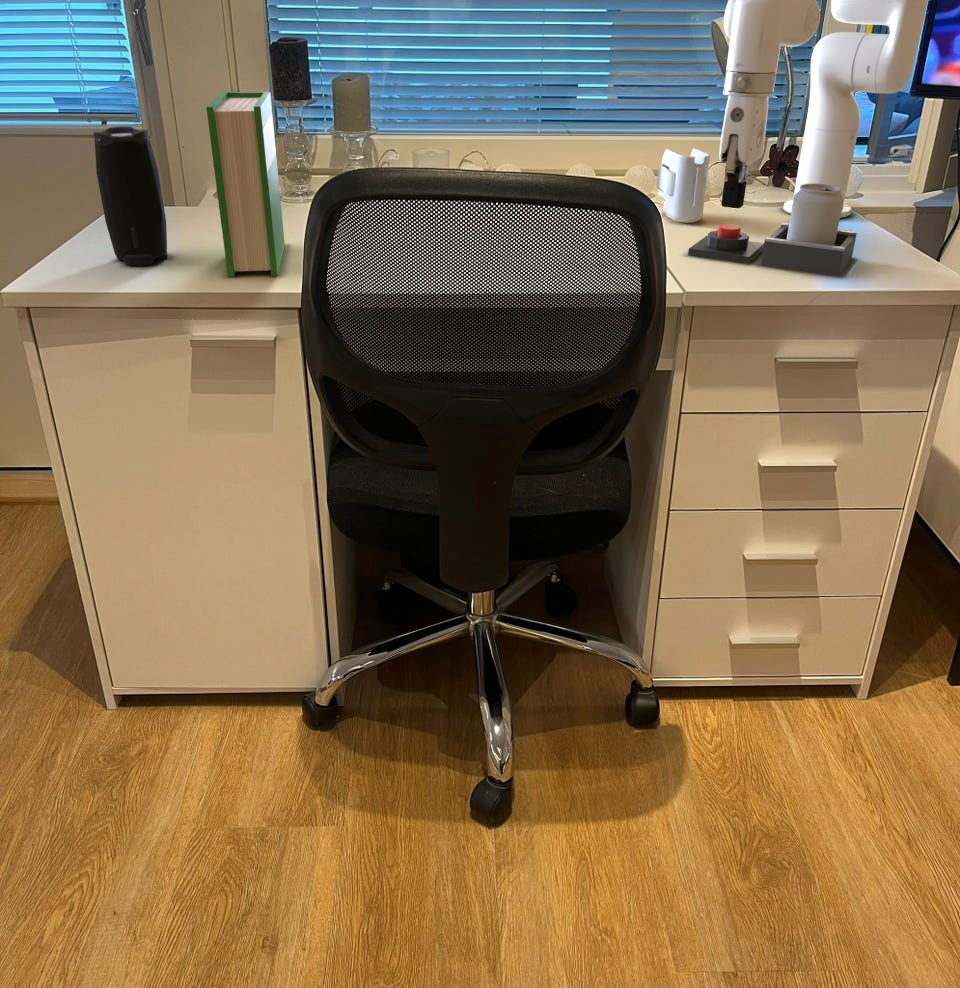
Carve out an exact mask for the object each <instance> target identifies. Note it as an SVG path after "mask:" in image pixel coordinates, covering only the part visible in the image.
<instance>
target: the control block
mask: <svg viewBox="0 0 960 988" xmlns="http://www.w3.org/2000/svg"><path fill="white" fill-rule="evenodd" d="M717 233H718V229H717V230H711V231H709V232H708V233H707V235H705V236H704V237H703V238H701V239H700V240H699V241H697V242H696V243H695V244H693V245H691V247H689V248H688V252H687V256H689V257H694V258H695V257H696V258H702V259H709V260H717V261H723V262H730V263H737V264H745V265H749V264H750V263H751V262H752V261H753V260H754V259H755V258H756V257H757V256H759V255H760V254H762V253H763V247H764V242H758V241H750V236H749V234H747V233H745V232H742V231H740V237H739V238H723V237H719V236H717Z"/></svg>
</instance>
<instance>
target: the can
mask: <svg viewBox="0 0 960 988" xmlns="http://www.w3.org/2000/svg"><path fill="white" fill-rule="evenodd" d="M840 191H841V188H840V187H837V186H834V185H828V184H817V183H811V184H803V185H800V190H799V191H798V192H797V193H796V194H795V195H794V194H793V197H794V198H792V200H793V204H792V210H791V213H790V217H789V222H788V224H789V228H788V234H787V239H786V240H792V241H800V242H808V243H816V244H824V245H831V246H834V245H835V240H836V235H837V230H839V224H840V219H841V218H840V215H841V210H842V205H843V199H844V198H843V197H842V195H841V194H840Z"/></svg>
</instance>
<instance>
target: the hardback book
mask: <svg viewBox="0 0 960 988" xmlns="http://www.w3.org/2000/svg"><path fill="white" fill-rule="evenodd" d="M205 107H206V109H205V110H206V115H207V123H208V131H209V139H210V146H211V147H210V148H211V154H212V163H213V169H214V178H215V185H216V193H217V201H218V209H219V218H220V226H221V232H222V233H221V234H222V240H223V250H224V255H225V264H226V273H227V277H228V278H235V276H236V273H237V272H262V271H264V272H265V271H270V276H271V277H273V276H274V277H278V276H279V271H280V267H281V264H282V259H283V255H284V251H285V247H286V243H285V241H286V240H285V232H284V224H283V223H284V222H283V212H282V211H283V210H282V201H281V190H280V180H279V170H278V160H277V148H276V138H275V127H274V118H273V107H272V97H271V91H221V92H220V93H219V94H218V95H217V96H216V97H215V98H214V99H213V100H212V101H211V102H210V103H209V104H208V105H206V106H205Z"/></svg>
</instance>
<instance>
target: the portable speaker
mask: <svg viewBox="0 0 960 988" xmlns="http://www.w3.org/2000/svg"><path fill="white" fill-rule="evenodd" d="M93 138H94V153H95V154H94V155H95V170H96V171H95V172H96V179H97V182H98V188H99V193H100V200H101V204H102V209H103V215H104V219H105V225H106V228H107V231H108V235H109V239H110V243H111V246H112V249H113V252H114V255H115V256H116V259H117V260H118V261H123V262H124V264H125V265H126V266H129V267H141V266H142V267H143V266H152V264H153V263H154V261H155V260H156V259H158V258H161V257H162V259H163V260H166V259H168V232H167V230H168V229H167V217H166V212H165V204H164V198H163V193H162V192H163V191H162V184H161V179H160V172H159V167H158V163H157V161H156V158H155V154H154V150H153V147H152V144H151V140H150V137H149V130H148V129H137V128H134V127H132V126H121V125H120V126H113V127H108V128H106V129H105V130H102V131H93Z"/></svg>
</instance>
